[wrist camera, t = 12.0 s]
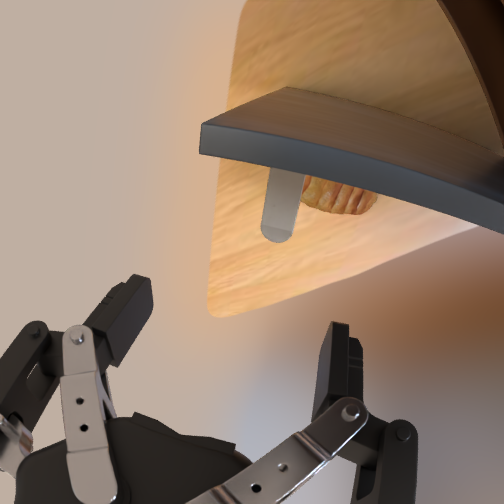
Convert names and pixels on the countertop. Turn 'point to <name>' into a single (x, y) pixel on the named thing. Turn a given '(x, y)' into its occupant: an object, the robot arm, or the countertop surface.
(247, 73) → the countertop surface
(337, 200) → the pastry
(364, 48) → the countertop surface
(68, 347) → the robot arm
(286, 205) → the door
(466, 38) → the cupboard
